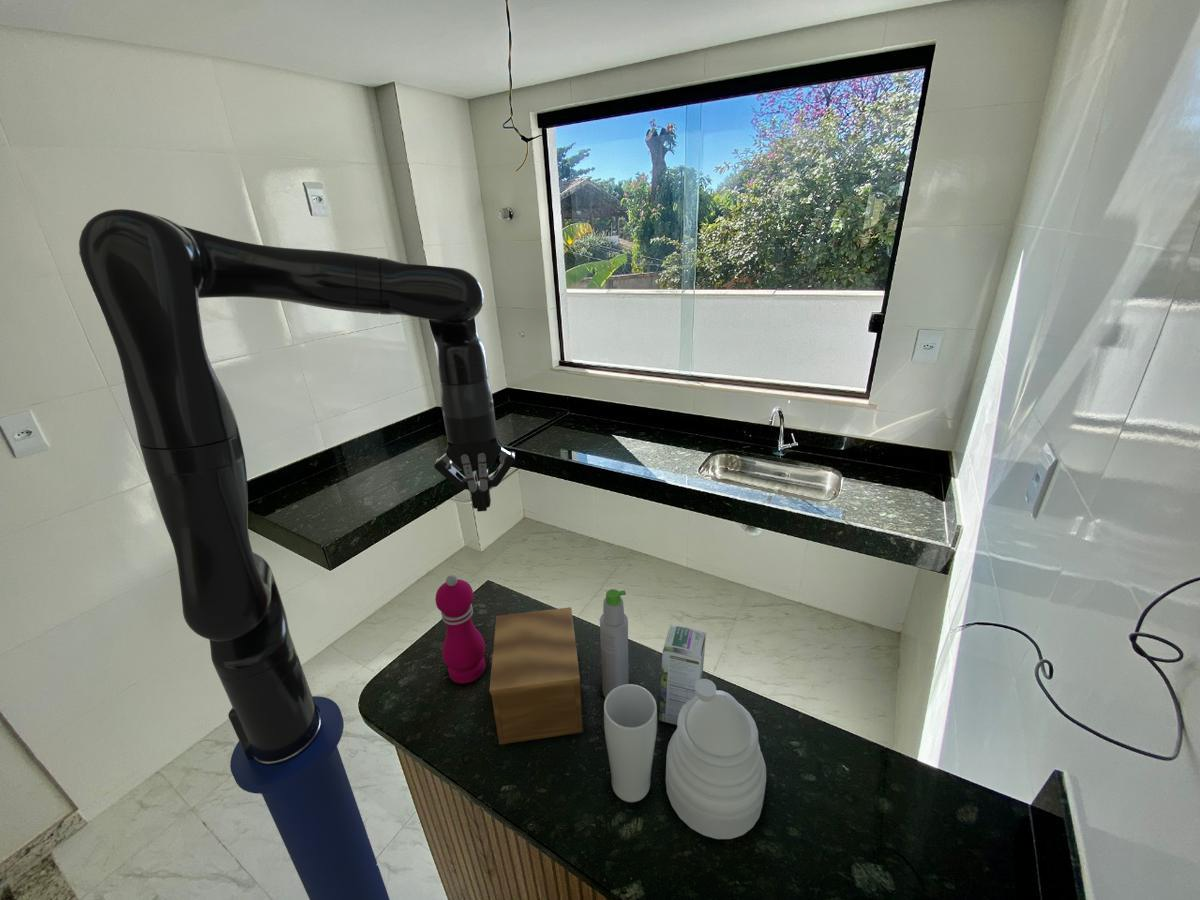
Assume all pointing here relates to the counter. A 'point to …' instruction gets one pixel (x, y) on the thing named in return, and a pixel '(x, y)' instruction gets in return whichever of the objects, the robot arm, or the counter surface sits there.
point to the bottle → (614, 642)
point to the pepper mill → (460, 631)
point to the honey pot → (715, 765)
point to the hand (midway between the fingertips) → (482, 508)
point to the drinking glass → (630, 739)
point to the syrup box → (680, 670)
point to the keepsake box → (538, 713)
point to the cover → (534, 651)
